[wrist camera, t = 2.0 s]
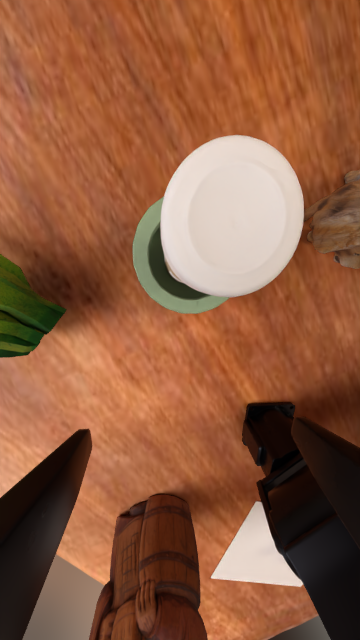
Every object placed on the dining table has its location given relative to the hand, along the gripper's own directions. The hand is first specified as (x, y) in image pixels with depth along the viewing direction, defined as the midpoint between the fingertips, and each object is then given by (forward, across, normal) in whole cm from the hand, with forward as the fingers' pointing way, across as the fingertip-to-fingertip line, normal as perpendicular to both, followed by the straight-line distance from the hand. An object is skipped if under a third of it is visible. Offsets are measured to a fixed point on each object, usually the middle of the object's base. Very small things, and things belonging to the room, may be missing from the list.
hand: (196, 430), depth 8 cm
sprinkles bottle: (+13, -1, -8) cm, 15 cm away
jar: (+13, -1, -8) cm, 15 cm away
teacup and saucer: (+13, -19, +41) cm, 47 cm away
